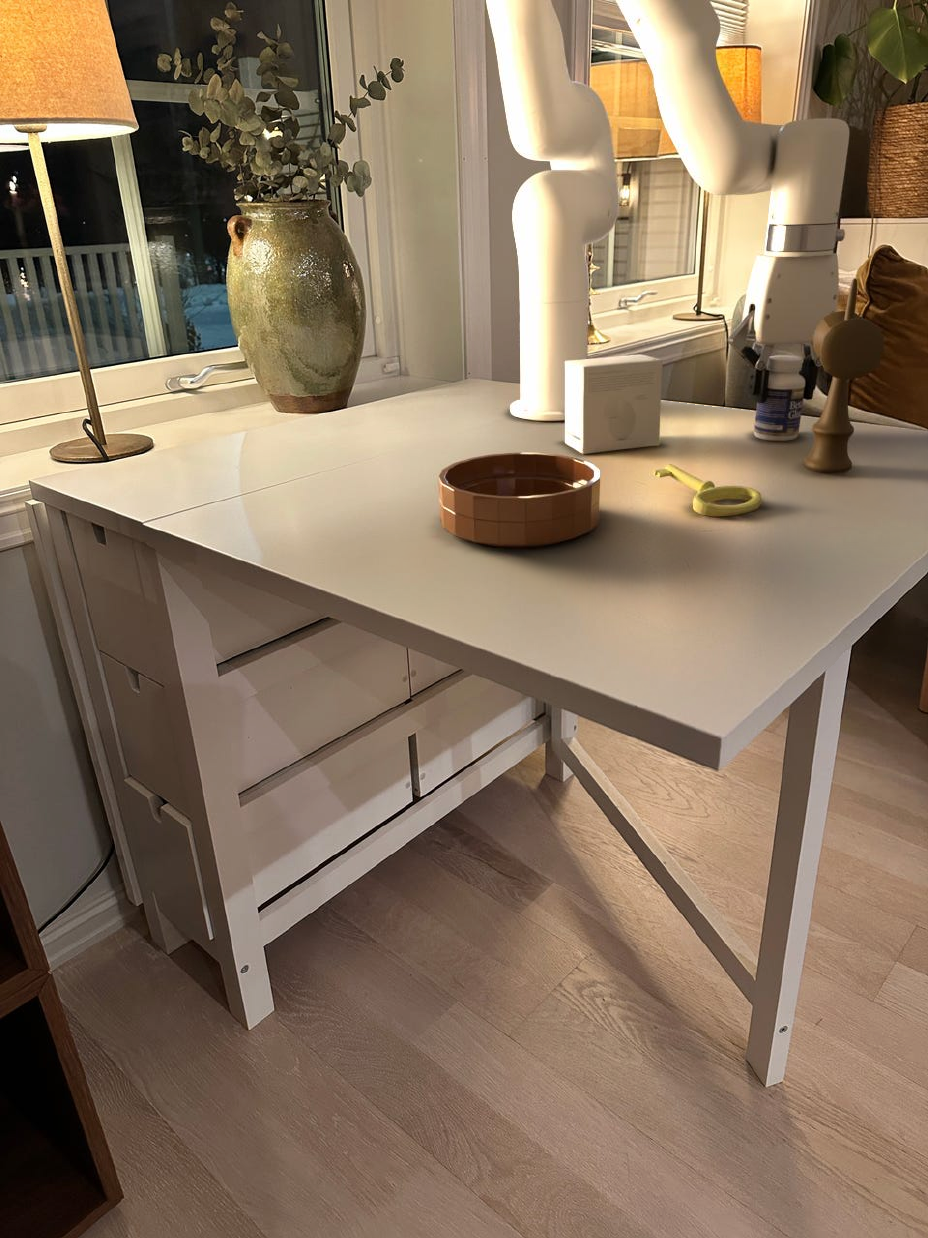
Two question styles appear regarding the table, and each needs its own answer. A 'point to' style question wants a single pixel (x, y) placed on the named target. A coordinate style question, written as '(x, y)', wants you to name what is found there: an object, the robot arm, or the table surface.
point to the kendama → (841, 380)
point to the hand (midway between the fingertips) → (780, 397)
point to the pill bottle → (781, 400)
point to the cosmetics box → (612, 403)
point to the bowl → (519, 499)
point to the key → (713, 494)
